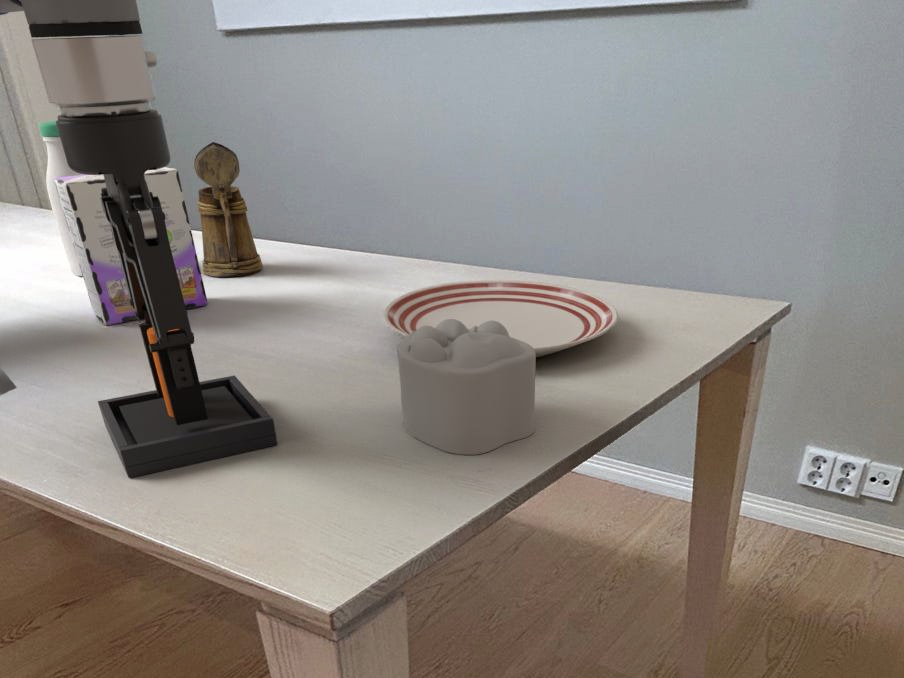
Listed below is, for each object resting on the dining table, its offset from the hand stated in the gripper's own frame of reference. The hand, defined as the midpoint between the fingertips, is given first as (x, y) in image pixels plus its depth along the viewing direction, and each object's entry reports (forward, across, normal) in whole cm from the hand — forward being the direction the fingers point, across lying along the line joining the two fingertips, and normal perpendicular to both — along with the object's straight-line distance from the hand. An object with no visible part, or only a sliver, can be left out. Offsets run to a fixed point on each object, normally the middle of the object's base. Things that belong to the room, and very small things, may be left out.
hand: (181, 406), depth 75 cm
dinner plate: (+3, +10, -39) cm, 40 cm away
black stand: (+2, 0, 0) cm, 2 cm away
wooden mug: (+3, +59, -20) cm, 62 cm away
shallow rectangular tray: (+3, 0, 0) cm, 3 cm away
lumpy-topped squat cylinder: (+3, -11, -23) cm, 26 cm away
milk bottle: (+3, +73, -2) cm, 73 cm away
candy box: (+3, +45, -5) cm, 45 cm away
